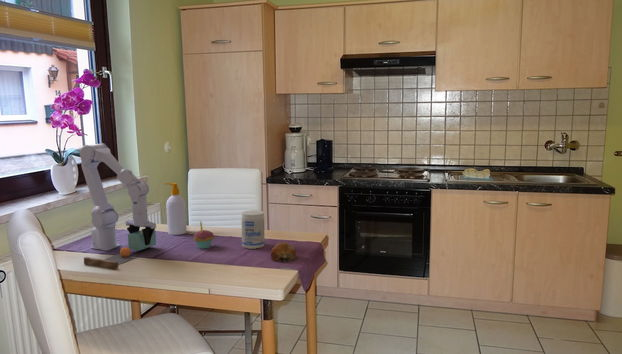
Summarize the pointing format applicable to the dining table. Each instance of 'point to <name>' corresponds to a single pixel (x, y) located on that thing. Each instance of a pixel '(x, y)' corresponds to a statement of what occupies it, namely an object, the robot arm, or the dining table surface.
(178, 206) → the soap bottle
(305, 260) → the dining table surface
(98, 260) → the stopper strip
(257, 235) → the supplement tub
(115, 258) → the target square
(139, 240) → the teal rectangular box
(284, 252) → the bread roll
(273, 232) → the dining table surface
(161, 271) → the dining table surface
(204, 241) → the cupcake
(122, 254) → the ball
